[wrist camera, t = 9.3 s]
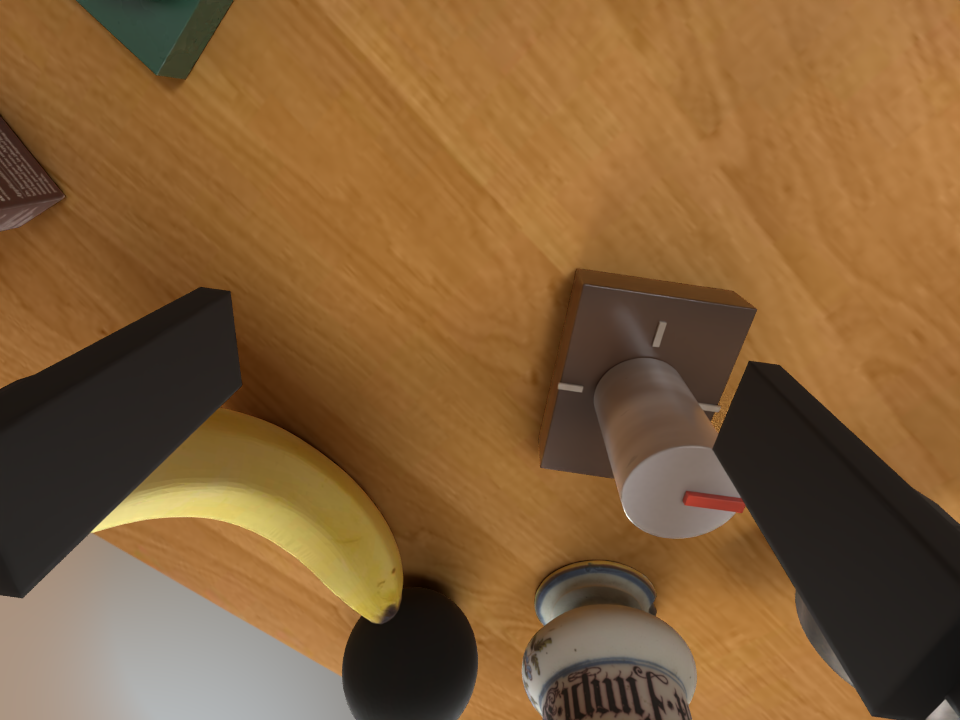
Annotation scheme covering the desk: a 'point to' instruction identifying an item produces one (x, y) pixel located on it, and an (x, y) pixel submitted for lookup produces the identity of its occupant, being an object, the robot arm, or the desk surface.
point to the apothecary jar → (605, 649)
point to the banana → (278, 505)
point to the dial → (662, 451)
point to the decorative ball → (412, 661)
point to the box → (22, 183)
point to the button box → (161, 29)
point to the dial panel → (634, 354)
